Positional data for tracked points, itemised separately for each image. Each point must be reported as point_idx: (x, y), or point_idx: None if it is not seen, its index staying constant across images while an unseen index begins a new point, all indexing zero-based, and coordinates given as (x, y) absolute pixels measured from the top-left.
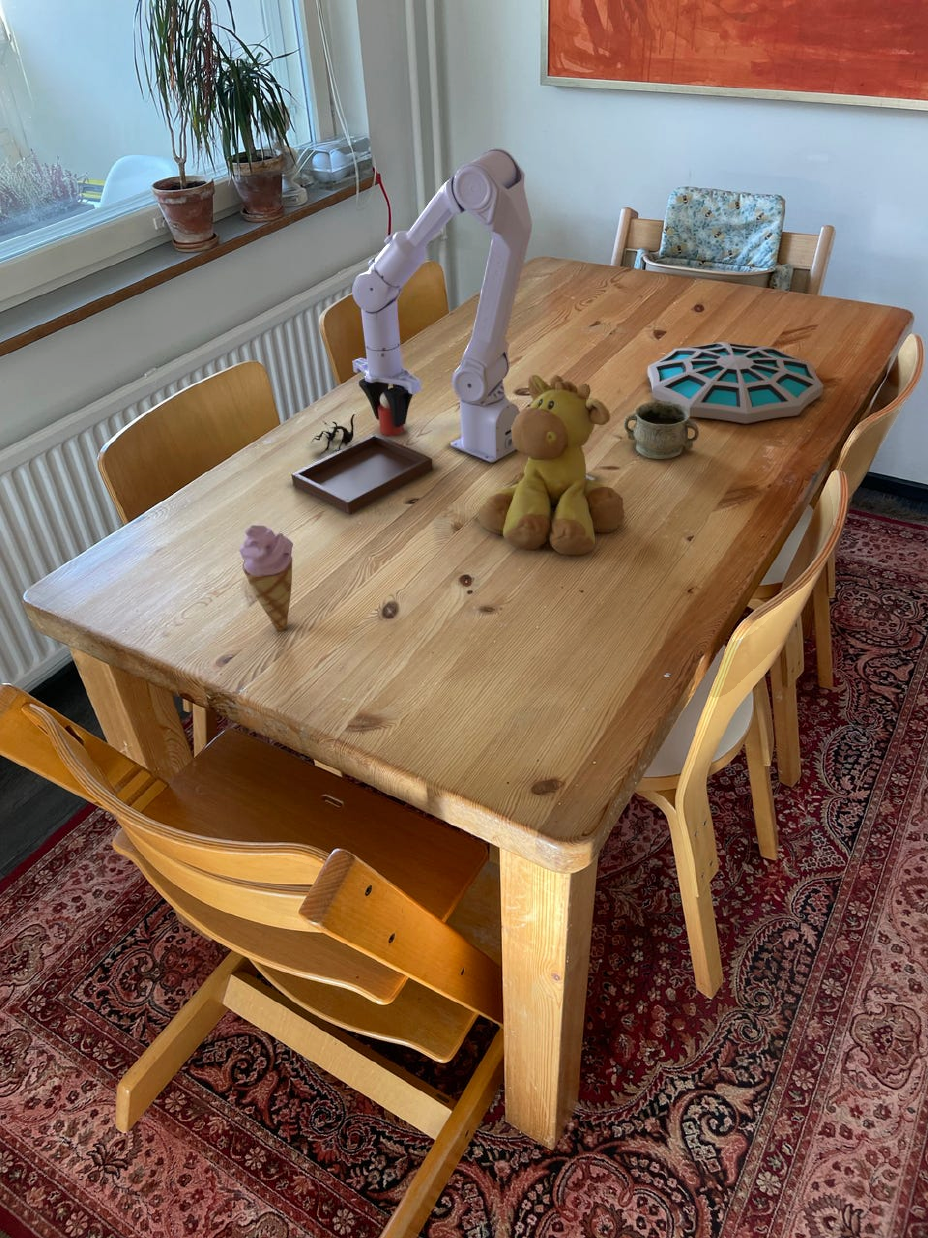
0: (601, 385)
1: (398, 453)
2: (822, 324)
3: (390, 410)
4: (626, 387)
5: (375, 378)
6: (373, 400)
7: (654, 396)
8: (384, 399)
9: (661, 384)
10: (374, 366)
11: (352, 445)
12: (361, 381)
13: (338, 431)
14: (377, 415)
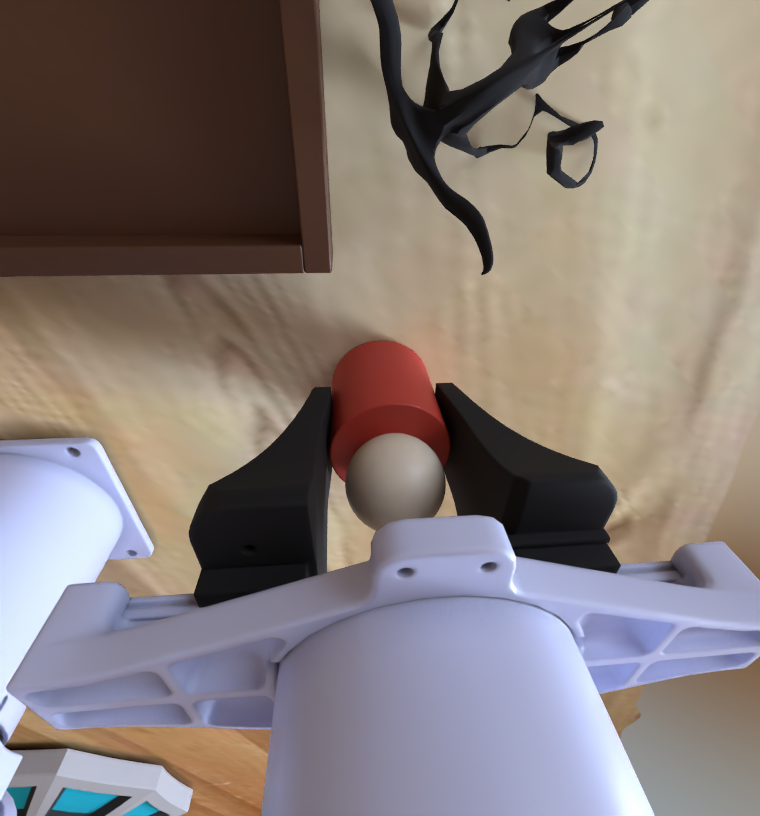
0: (189, 727)
1: (111, 235)
2: None
3: (353, 434)
4: (151, 739)
5: (371, 586)
6: (469, 434)
7: (58, 753)
8: (383, 465)
9: (47, 786)
10: (419, 747)
11: (297, 29)
12: (596, 499)
13: (548, 165)
14: (441, 391)
